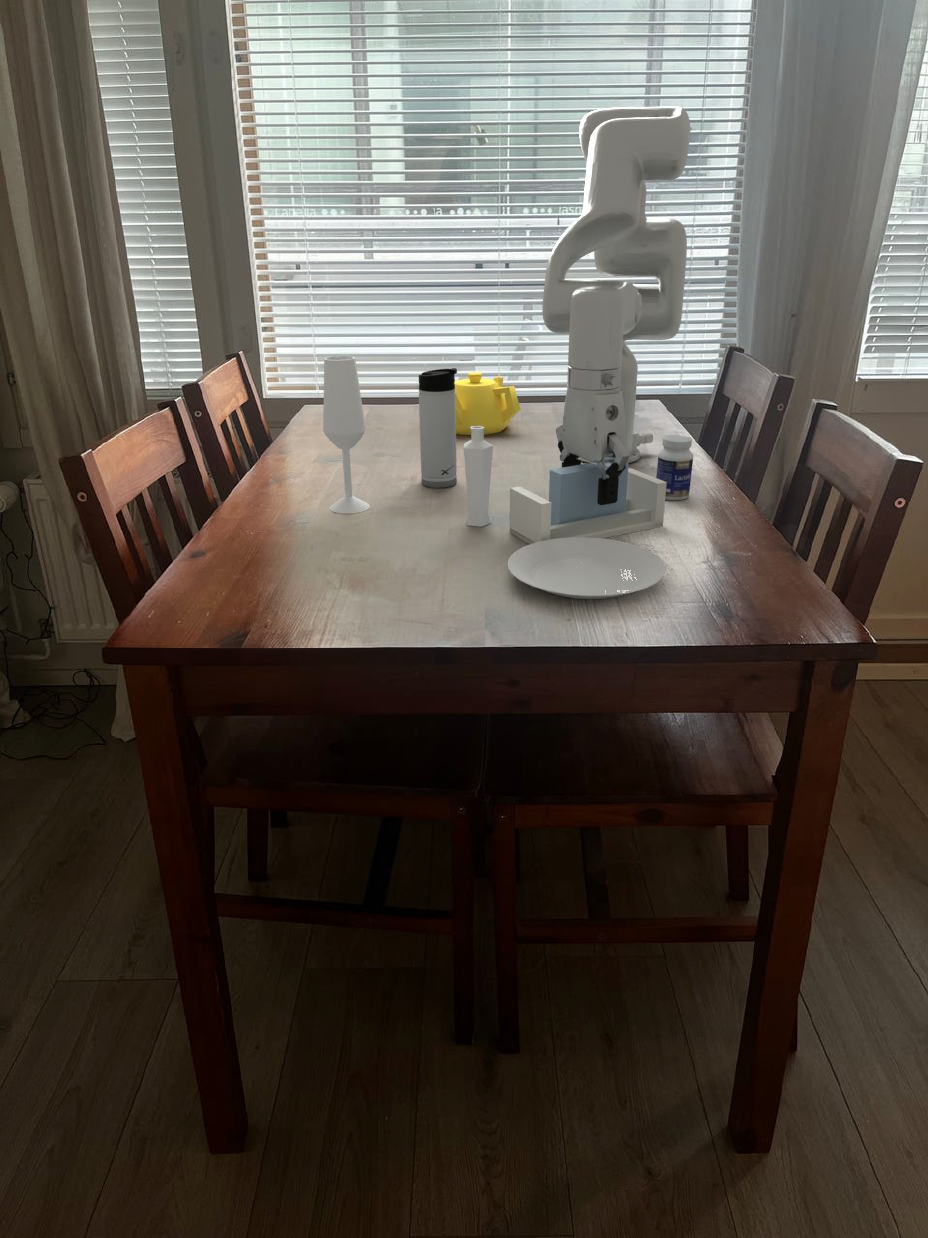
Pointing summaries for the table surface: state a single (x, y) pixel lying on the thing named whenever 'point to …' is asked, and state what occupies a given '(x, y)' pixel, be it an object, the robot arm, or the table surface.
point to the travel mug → (438, 427)
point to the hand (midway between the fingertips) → (588, 494)
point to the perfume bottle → (478, 476)
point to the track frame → (640, 514)
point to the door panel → (581, 493)
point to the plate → (586, 567)
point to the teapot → (484, 404)
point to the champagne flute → (343, 420)
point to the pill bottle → (675, 466)
